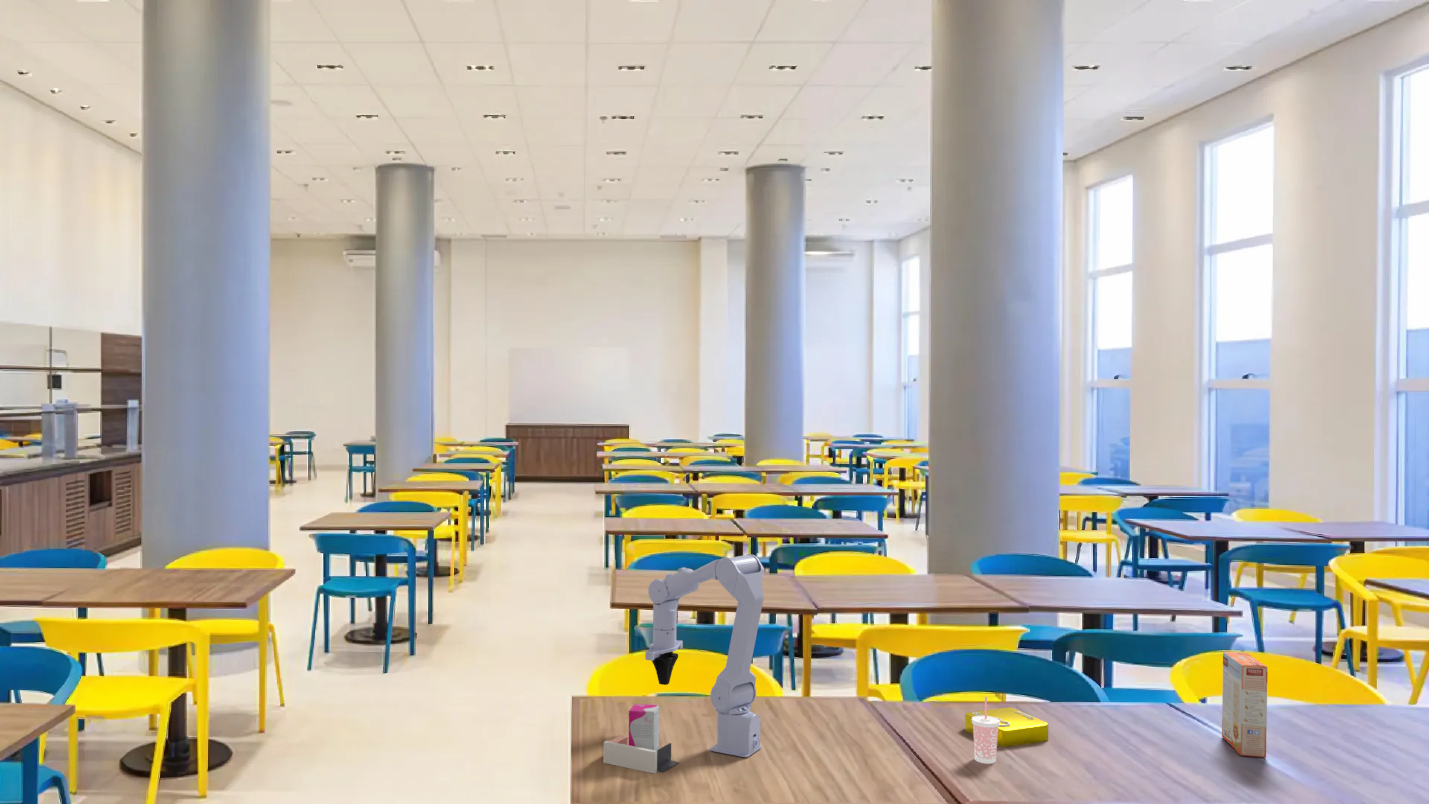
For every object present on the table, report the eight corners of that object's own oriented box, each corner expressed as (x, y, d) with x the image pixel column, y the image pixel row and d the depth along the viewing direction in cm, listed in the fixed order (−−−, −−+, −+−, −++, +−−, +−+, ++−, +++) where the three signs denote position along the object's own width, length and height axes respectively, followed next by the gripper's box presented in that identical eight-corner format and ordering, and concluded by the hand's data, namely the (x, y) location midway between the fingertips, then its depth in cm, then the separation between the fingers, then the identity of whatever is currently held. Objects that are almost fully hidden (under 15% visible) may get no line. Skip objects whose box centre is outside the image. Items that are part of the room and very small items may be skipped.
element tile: (1052, 742, 236) (1052, 721, 236) (1000, 749, 230) (1000, 728, 230) (1011, 723, 250) (1011, 704, 250) (961, 730, 244) (961, 710, 244)
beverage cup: (980, 765, 218) (980, 701, 218) (966, 756, 224) (966, 694, 224) (1005, 763, 220) (1005, 700, 220) (990, 754, 226) (990, 692, 226)
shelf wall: (656, 772, 212) (657, 750, 212) (654, 773, 211) (654, 752, 211) (606, 761, 218) (606, 740, 218) (603, 762, 217) (603, 742, 217)
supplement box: (659, 755, 222) (659, 704, 222) (653, 765, 216) (654, 712, 216) (633, 754, 223) (634, 702, 223) (627, 763, 217) (628, 710, 217)
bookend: (678, 763, 217) (679, 744, 217) (663, 772, 211) (663, 753, 212) (669, 761, 218) (669, 743, 218) (654, 770, 213) (654, 751, 213)
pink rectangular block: (627, 752, 223) (627, 737, 224) (611, 761, 218) (611, 745, 218) (619, 751, 224) (620, 735, 224) (603, 759, 219) (603, 744, 219)
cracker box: (1268, 758, 225) (1268, 666, 225) (1239, 756, 226) (1240, 664, 226) (1248, 739, 239) (1248, 651, 239) (1221, 737, 240) (1221, 650, 240)
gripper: (665, 620, 251) (665, 674, 251) (634, 631, 238) (634, 688, 238) (690, 624, 248) (689, 678, 247) (660, 635, 235) (659, 692, 235)
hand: (664, 683), depth 242 cm, fingers closed
